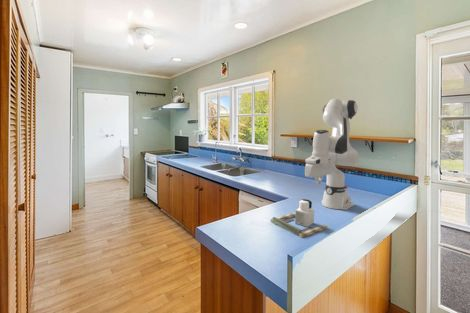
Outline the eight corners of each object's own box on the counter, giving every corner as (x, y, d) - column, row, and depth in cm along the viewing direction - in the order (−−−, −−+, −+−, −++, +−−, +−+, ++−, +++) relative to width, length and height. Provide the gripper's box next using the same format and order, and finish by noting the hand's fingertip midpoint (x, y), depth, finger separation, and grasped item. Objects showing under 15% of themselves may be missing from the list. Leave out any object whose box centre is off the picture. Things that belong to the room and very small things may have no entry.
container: (300, 219, 140) (301, 197, 138) (313, 222, 135) (315, 200, 133) (294, 223, 134) (295, 200, 132) (308, 227, 129) (309, 203, 127)
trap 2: (309, 227, 129) (310, 226, 129) (314, 229, 126) (314, 228, 126) (297, 231, 123) (297, 231, 123) (301, 234, 121) (301, 233, 121)
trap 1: (290, 218, 140) (290, 218, 140) (294, 220, 138) (294, 219, 138) (277, 222, 135) (277, 221, 135) (281, 224, 132) (281, 223, 132)
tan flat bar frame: (295, 214, 146) (295, 210, 146) (327, 228, 128) (327, 222, 128) (270, 221, 135) (270, 216, 135) (301, 237, 117) (301, 231, 117)
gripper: (326, 157, 144) (325, 180, 146) (303, 159, 132) (301, 184, 134) (336, 158, 139) (334, 182, 140) (312, 161, 127) (311, 187, 129)
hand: (318, 183), depth 137 cm, fingers closed
